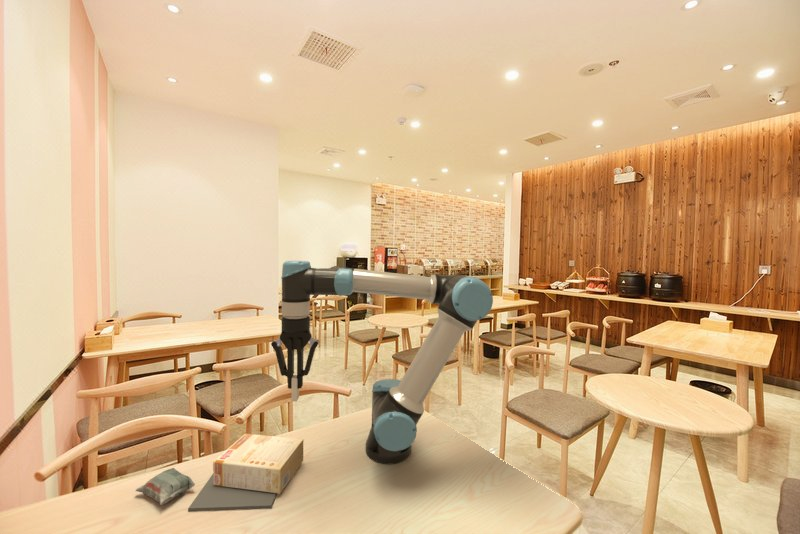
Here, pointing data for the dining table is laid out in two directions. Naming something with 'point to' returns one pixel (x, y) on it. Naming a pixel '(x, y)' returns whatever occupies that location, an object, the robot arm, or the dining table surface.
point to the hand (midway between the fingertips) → (295, 399)
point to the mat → (230, 498)
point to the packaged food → (166, 486)
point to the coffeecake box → (258, 463)
